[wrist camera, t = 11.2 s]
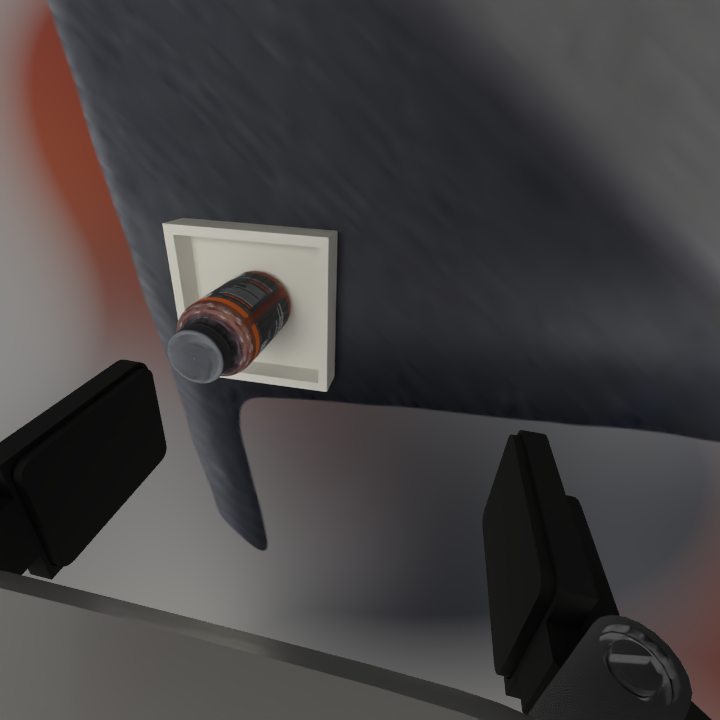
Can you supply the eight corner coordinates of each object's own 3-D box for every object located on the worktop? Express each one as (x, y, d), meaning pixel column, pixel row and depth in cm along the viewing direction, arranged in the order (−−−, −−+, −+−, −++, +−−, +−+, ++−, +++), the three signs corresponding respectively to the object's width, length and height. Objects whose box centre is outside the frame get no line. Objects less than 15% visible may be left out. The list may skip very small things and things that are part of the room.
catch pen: (183, 217, 36) (162, 223, 33) (337, 230, 34) (328, 237, 31) (203, 358, 42) (187, 372, 39) (334, 375, 40) (326, 391, 37)
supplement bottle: (223, 269, 36) (140, 313, 26) (288, 268, 35) (226, 314, 25) (236, 332, 39) (165, 394, 29) (296, 333, 38) (244, 398, 28)
